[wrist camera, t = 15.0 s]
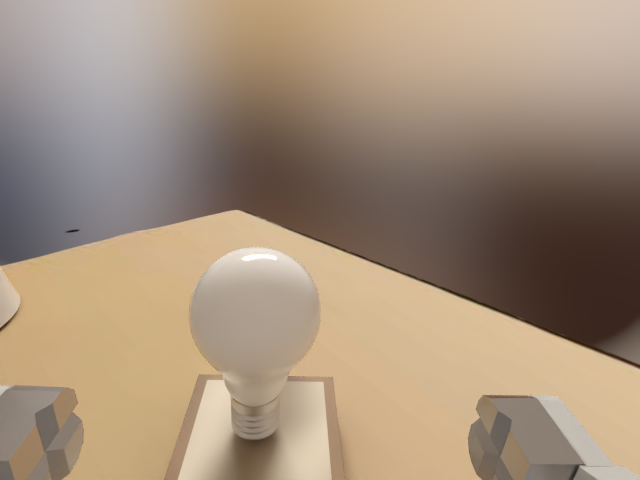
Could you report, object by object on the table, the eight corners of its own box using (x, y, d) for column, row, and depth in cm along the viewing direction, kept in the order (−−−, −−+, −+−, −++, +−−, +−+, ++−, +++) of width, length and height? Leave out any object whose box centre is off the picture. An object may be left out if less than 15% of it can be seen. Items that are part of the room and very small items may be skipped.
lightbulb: (172, 461, 20) (153, 269, 16) (230, 378, 26) (226, 221, 22) (290, 498, 19) (303, 299, 15) (323, 402, 24) (338, 239, 20)
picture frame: (158, 550, 19) (152, 509, 18) (200, 406, 27) (198, 372, 26) (343, 547, 20) (348, 508, 19) (329, 407, 28) (333, 374, 27)
